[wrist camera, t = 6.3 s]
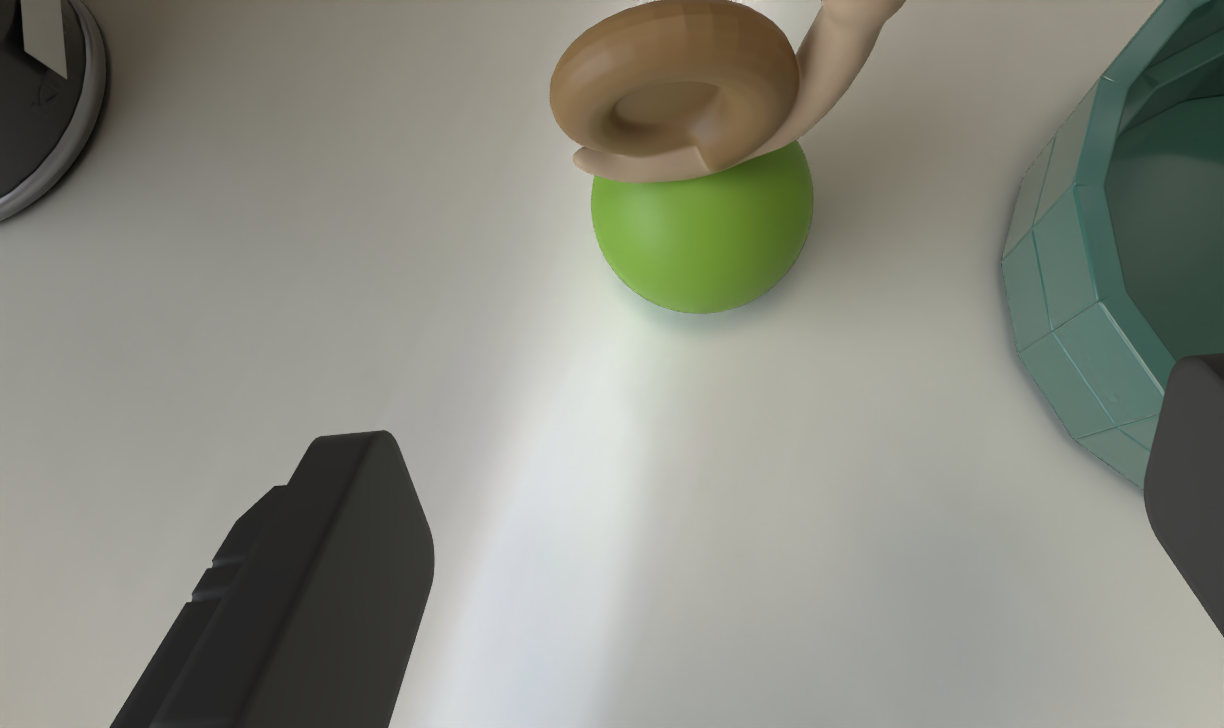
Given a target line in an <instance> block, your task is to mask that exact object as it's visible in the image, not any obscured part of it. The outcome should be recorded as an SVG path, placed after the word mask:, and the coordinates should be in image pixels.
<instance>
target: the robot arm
mask: <svg viewBox="0 0 1224 728" xmlns="http://www.w3.org/2000/svg"><path fill="white" fill-rule="evenodd" d="M105 81H106V59H105V50H104V45H103V41H102V38H101V34H100V31H99V29H98V27H97V24H96V22H95V20H94V18H93V17H92V15H91V13H90V12H89V10H88V9H87V8H86V7H85V5H84V4H83V3H82V2H81V1H80V0H0V221H1V220H3V219H6V218H8V217H10V216H12V215H14V214H16V213H17V212H19V211H21V210H22V209H24V208H25V207H27V206H29V205H30V204H31V203H33V202H34V201H35V200H37V199H38V198H40V197H41V196H42V195H43V194H44V193H45V192H47V191H48V190H49V189H50V188H51V187H52V186H53V185H54V184H55V183H56V182H57V181H58V180H59V179H60V178H61V177H62V176H63V175H64V173H65V172H66V171H67V170H68V169H69V167H70V166H71V165H72V164H73V162H74V161H75V159H76V158H77V157H78V155H79V154H80V152H81V150H82V149H83V147H84V145H85V144H86V142H87V140H88V138H89V136H90V134H91V132H92V130H93V128H94V125H95V122H96V120H97V117H98V114H99V111H100V108H101V104H102V100H103V95H104V90H105ZM1144 500H1145V507H1146V511H1147V515H1148V519H1149V522H1150V524H1151V527H1152V529H1153V531H1154V533H1155V536H1156V537H1157V539H1158V541H1159V542H1160V544H1161V545H1162V547H1163V548H1164V550H1165V551H1166V553H1167V554H1168V556H1169V557H1170V558H1171V560H1172V561H1173V563H1174V564H1175V566H1176V567H1177V569H1178V570H1179V572H1180V573H1181V575H1182V576H1183V578H1184V579H1185V581H1186V582H1187V584H1188V585H1189V587H1190V588H1191V590H1192V591H1193V593H1194V594H1195V595H1196V597H1197V598H1198V600H1199V601H1200V603H1201V604H1202V606H1203V607H1204V609H1205V610H1206V612H1207V613H1208V615H1209V616H1210V618H1211V619H1212V621H1213V622H1214V624H1215V625H1216V627H1217V628H1218V629H1219V631H1220V632H1221V634H1222V635H1223V637H1224V353H1216V354H1205V355H1194V356H1185V357H1183V358H1181V359H1180V360H1178V361H1177V362H1176V363H1175V365H1174V366H1173V368H1172V370H1171V372H1170V375H1169V378H1168V382H1167V386H1166V390H1165V394H1164V398H1163V402H1162V406H1161V411H1160V415H1159V419H1158V423H1157V427H1156V431H1155V435H1154V439H1153V443H1152V448H1151V452H1150V456H1149V460H1148V464H1147V468H1146V472H1145V478H1144ZM212 562H213V567H212V568H207V570H206V571H205V573H204V574H203V576H202V578H201V579H200V581H199V583H198V584H197V586H196V587H195V589H194V591H193V592H192V597H193V598H192V602H186V604H185V605H184V607H183V609H182V610H181V612H180V614H179V615H178V617H177V618H176V620H175V622H174V623H173V625H172V627H171V628H170V630H169V632H168V633H167V635H166V636H165V638H164V640H163V641H162V643H161V645H160V646H159V648H158V649H157V651H156V653H155V654H154V656H153V658H152V659H151V661H150V662H149V664H148V666H147V667H146V669H145V671H144V672H143V674H142V676H141V677H140V679H139V680H138V682H137V684H136V685H135V687H134V689H133V690H132V692H131V693H130V695H129V697H128V698H127V700H126V702H125V703H124V705H123V706H122V708H121V710H120V711H119V713H118V715H117V716H116V718H115V720H114V721H113V723H112V724H111V726H110V728H388V726H389V723H390V720H391V716H392V713H393V710H394V707H395V703H396V700H397V697H398V694H399V690H400V687H401V684H402V681H403V677H404V674H405V671H406V668H407V664H408V661H409V658H410V655H411V651H412V648H413V645H414V642H415V638H416V635H417V632H418V629H419V625H420V622H421V619H422V616H423V613H424V609H425V606H426V603H427V600H428V596H429V593H430V590H431V586H432V582H433V576H434V545H433V539H432V534H431V531H430V528H429V525H428V522H427V520H426V517H425V514H424V512H423V509H422V506H421V504H420V501H419V499H418V496H417V493H416V491H415V488H414V485H413V483H412V480H411V477H410V475H409V472H408V469H407V467H406V464H405V461H404V459H403V456H402V454H401V451H400V448H399V446H398V444H397V442H396V440H395V438H394V437H393V436H392V434H391V433H389V432H388V431H385V430H382V431H371V432H361V433H350V434H340V435H329V436H320V437H318V438H316V439H315V440H314V441H313V442H312V443H311V444H310V446H309V447H308V449H307V451H306V453H305V454H304V456H303V458H302V460H301V461H300V463H299V465H298V467H297V468H296V470H295V472H294V474H293V475H292V477H291V479H290V481H289V482H288V484H287V485H283V486H274V487H273V488H272V489H271V490H270V491H269V492H268V493H266V494H265V495H264V496H263V497H262V498H261V499H260V500H259V501H258V502H257V503H255V504H254V505H253V506H252V507H251V508H250V509H249V510H248V511H247V512H246V513H245V514H243V515H242V516H241V517H240V518H239V519H238V520H237V521H236V522H235V524H234V526H233V527H232V529H231V530H230V532H229V534H228V535H227V537H226V539H225V540H224V542H223V543H222V545H221V547H220V548H219V550H218V552H217V553H216V555H215V557H214V558H213V560H212Z"/></svg>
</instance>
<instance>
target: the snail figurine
mask: <svg viewBox="0 0 1224 728" xmlns="http://www.w3.org/2000/svg"><path fill="white" fill-rule="evenodd" d="M905 1H906V0H821V2H822V7H821V9H820V11H819V12H818V14H817V16H816V18H815V20H814V22H813V23H812V25H811V27H810V29H809V31H808V32H807V34H806V36H805V38H804V40H803V42H802V44H801V46H800V48H799V49H798V51H797V53H796V55H795V54H794V51H793V49H792V47H791V45H790V43H789V41H788V39H787V37H786V35H785V34H784V33H783V31H782V30H781V29H780V28H779V27H778V26H777V25H776V24H775V23H774V22H773V21H771V20H770V19H769V18H767V17H766V16H764V15H762V14H761V13H759V12H757V11H755V10H753V9H752V8H750V7H748V6H745V5H742V4H739V3H736V2H732V1H729V0H659V1H654V2H649V3H646V4H642V5H639V6H636V7H632V8H629V9H626V10H624V11H622V12H619V13H617V14H615V15H612V16H610V17H608V18H606V19H604V20H602V21H601V22H599V23H597V24H596V25H594V26H593V27H591V28H589V29H588V30H586V31H585V32H584V33H583V34H582V35H580V36H579V37H578V38H577V39H576V40H575V41H574V42H573V43H572V44H571V45H570V46H569V47H568V49H567V50H566V51H565V53H564V54H563V55H562V57H561V58H560V60H559V62H558V63H557V65H556V68H555V70H554V73H553V75H552V78H551V83H550V105H551V109H552V112H553V114H554V117H555V120H556V122H557V123H558V125H559V126H560V128H561V129H562V130H563V131H564V132H565V133H566V134H567V135H568V136H569V137H570V138H571V139H572V140H574V141H575V142H577V143H579V144H580V145H582V146H584V147H583V148H581V149H579V150H578V151H577V152H576V153H575V154H574V156H573V162H574V164H575V165H576V166H577V167H578V168H580V169H581V170H583V171H585V172H587V173H590V174H593V175H595V176H594V181H593V186H592V196H591V211H592V220H593V226H594V230H595V234H596V238H597V240H598V243H599V246H600V248H601V250H602V252H603V255H604V256H605V258H606V260H607V262H608V263H609V265H610V266H611V268H612V269H613V270H614V272H615V273H616V274H617V275H618V277H619V278H620V279H621V280H622V281H623V282H624V283H625V284H626V285H627V286H628V287H630V288H631V289H632V290H633V291H634V292H636V293H637V294H639V295H640V296H642V297H643V298H645V299H647V300H648V301H650V302H652V303H654V304H657V305H659V306H662V307H664V308H667V309H671V310H674V311H679V312H685V313H698V314H702V313H715V312H721V311H726V310H730V309H733V308H736V307H739V306H741V305H744V304H746V303H748V302H750V301H752V300H754V299H756V298H757V297H759V296H761V295H762V294H764V293H765V292H766V291H768V290H769V289H770V288H772V287H773V286H774V285H775V284H776V283H777V282H778V281H779V280H780V279H781V278H782V277H783V276H784V275H785V274H786V273H787V271H788V270H789V269H790V267H791V266H792V265H793V263H794V262H795V260H796V259H797V257H798V255H799V253H800V251H801V249H802V247H803V245H804V243H805V240H806V238H807V235H808V231H809V228H810V224H811V219H812V212H813V186H812V179H811V174H810V170H809V166H808V163H807V160H806V158H805V155H804V153H803V151H802V149H801V147H800V145H799V143H798V141H797V140H796V139H798V138H799V137H801V136H802V135H804V134H805V133H806V132H807V131H808V130H809V129H811V128H812V127H813V126H814V125H815V124H816V123H817V122H818V121H819V120H820V119H821V118H822V117H824V116H825V115H826V114H827V113H828V112H829V111H830V110H831V108H832V107H833V106H834V105H835V104H836V103H837V101H838V100H839V99H840V98H841V97H842V95H843V94H844V93H845V92H846V90H847V89H848V88H849V86H850V85H851V83H852V82H853V80H854V79H855V77H856V76H857V74H858V73H859V71H860V70H861V68H862V67H863V65H864V63H865V62H866V60H867V58H868V57H869V55H870V53H871V51H872V49H873V47H874V45H875V42H876V40H877V38H878V35H879V33H880V30H881V28H882V26H883V24H884V23H885V22H886V21H887V20H888V19H889V18H890V17H891V16H892V15H894V14H895V13H896V12H897V11H898V10H899V9H900V8H901V7H902V5H903V4H904V2H905Z"/></svg>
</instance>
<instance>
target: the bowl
mask: <svg viewBox="0 0 1224 728" xmlns="http://www.w3.org/2000/svg"><path fill="white" fill-rule="evenodd" d="M1001 266H1002V272H1003V277H1004V283H1005V288H1006V294H1007V299H1008V305H1009V310H1010V316H1011V321H1012V327H1013V332H1014V338H1015V343H1016V349H1017V352H1018V353H1019V354H1018V356H1019V358H1020V359H1021V361H1022V362H1023V364H1024V365H1025V367H1026V368H1027V370H1028V371H1029V373H1030V374H1031V376H1032V377H1033V379H1034V380H1035V382H1036V383H1037V385H1038V386H1039V388H1040V389H1041V391H1042V393H1043V394H1044V396H1045V397H1046V399H1047V400H1048V402H1049V403H1050V405H1051V406H1052V408H1053V409H1054V411H1055V412H1056V414H1057V415H1058V417H1059V418H1060V420H1061V421H1062V423H1063V424H1064V426H1065V427H1066V429H1067V430H1068V432H1069V434H1070V435H1071V437H1072V438H1073V439H1076V441H1077V442H1078V443H1079V444H1080V445H1082V446H1083V447H1084V448H1086V449H1087V450H1089V451H1090V452H1091V453H1093V454H1094V455H1096V456H1097V457H1098V458H1100V459H1101V460H1102V461H1104V462H1105V463H1107V464H1108V465H1109V466H1111V467H1112V468H1114V469H1115V470H1116V471H1118V472H1119V473H1121V474H1122V475H1123V476H1125V477H1126V478H1127V479H1129V480H1130V481H1132V482H1133V483H1134V484H1136V485H1137V486H1139V487H1140V488H1141V489H1143V490H1144V478H1145V472H1146V468H1147V464H1148V460H1149V456H1150V452H1151V448H1152V443H1153V439H1154V435H1155V431H1156V427H1157V423H1158V419H1159V415H1160V411H1161V406H1162V402H1163V398H1164V394H1165V390H1166V386H1167V382H1168V378H1169V375H1170V372H1171V370H1172V368H1173V366H1174V365H1175V363H1176V362H1177V361H1178V360H1180V359H1181V358H1183V357H1185V356H1194V355H1205V354H1216V353H1224V0H1163V1H1162V2H1161V4H1160V5H1159V6H1158V7H1157V8H1156V10H1155V11H1154V12H1153V13H1152V14H1151V16H1150V17H1149V18H1148V19H1147V21H1146V22H1145V23H1144V24H1143V25H1142V27H1141V28H1140V29H1139V30H1138V31H1137V33H1136V34H1135V35H1134V36H1133V38H1132V39H1131V40H1130V41H1129V42H1128V44H1127V45H1126V46H1125V47H1124V48H1123V50H1122V51H1121V52H1120V53H1119V55H1118V56H1117V57H1116V58H1115V59H1114V61H1113V62H1112V63H1111V64H1110V65H1109V67H1108V68H1107V69H1106V70H1105V71H1104V73H1103V74H1102V75H1101V76H1100V78H1099V79H1098V80H1097V82H1096V83H1095V84H1094V85H1093V87H1092V88H1091V89H1090V91H1089V92H1088V93H1087V94H1086V96H1085V97H1084V98H1083V100H1082V101H1081V102H1080V103H1079V105H1078V106H1077V107H1076V108H1075V110H1074V111H1073V112H1072V114H1071V115H1070V116H1069V117H1068V119H1067V120H1066V121H1065V123H1064V124H1063V125H1062V126H1061V128H1060V129H1059V130H1058V132H1057V133H1056V134H1055V135H1054V137H1053V138H1052V139H1051V141H1050V142H1049V143H1048V144H1047V146H1046V147H1045V148H1044V150H1043V151H1042V152H1041V153H1040V155H1039V156H1038V157H1037V159H1036V160H1035V161H1034V162H1033V164H1032V165H1031V166H1030V168H1029V169H1028V170H1027V171H1026V173H1025V176H1024V177H1023V178H1022V182H1021V186H1020V190H1019V194H1018V198H1017V201H1016V205H1015V209H1014V213H1013V217H1012V220H1011V224H1010V228H1009V232H1008V236H1007V239H1006V243H1005V247H1004V251H1003V255H1002V263H1001Z"/></svg>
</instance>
